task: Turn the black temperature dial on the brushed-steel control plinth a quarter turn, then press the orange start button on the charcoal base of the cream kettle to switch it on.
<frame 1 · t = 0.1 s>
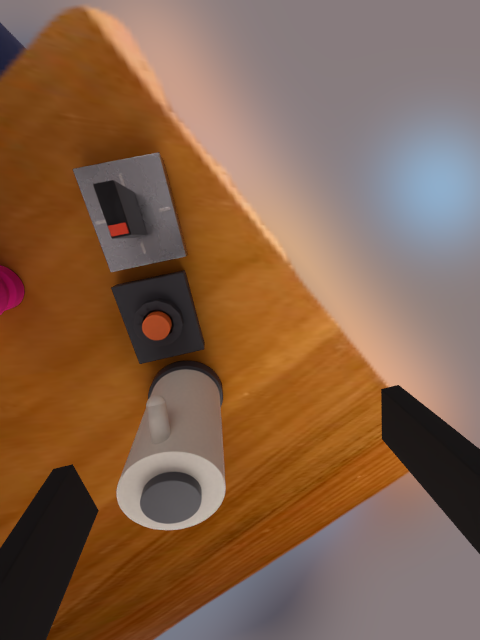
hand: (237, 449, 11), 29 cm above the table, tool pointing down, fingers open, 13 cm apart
pepper mill: (0, 286, 35), on the table
kettle button: (157, 325, 34), point 4 cm above the table, slide at 0.1 cm
kettle base: (163, 315, 38), on the table
dial plinth: (139, 217, 34), on the table
kettle: (187, 391, 43), on the table
temp dial: (123, 213, 28), point 7 cm above the table, hinge at 0.0°
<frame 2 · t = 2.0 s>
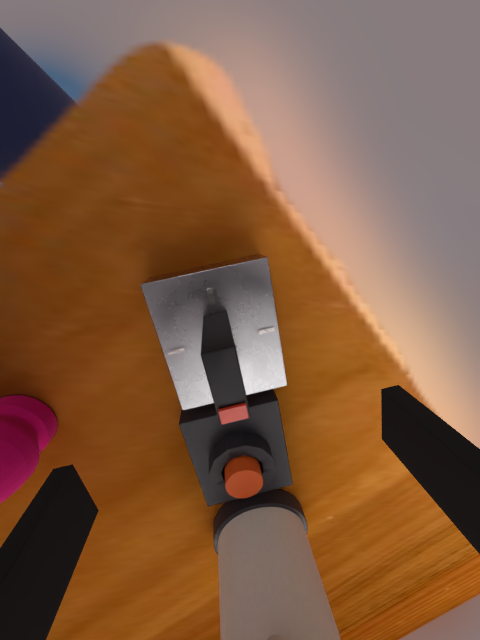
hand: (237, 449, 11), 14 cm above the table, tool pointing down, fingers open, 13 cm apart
pepper mill: (24, 419, 25), on the table
kettle button: (243, 476, 25), point 4 cm above the table, slide at 0.1 cm
kettle base: (238, 441, 29), on the table
dial plinth: (220, 328, 24), on the table
kettle: (258, 520, 34), on the table
temp dial: (224, 360, 18), point 7 cm above the table, hinge at 0.0°
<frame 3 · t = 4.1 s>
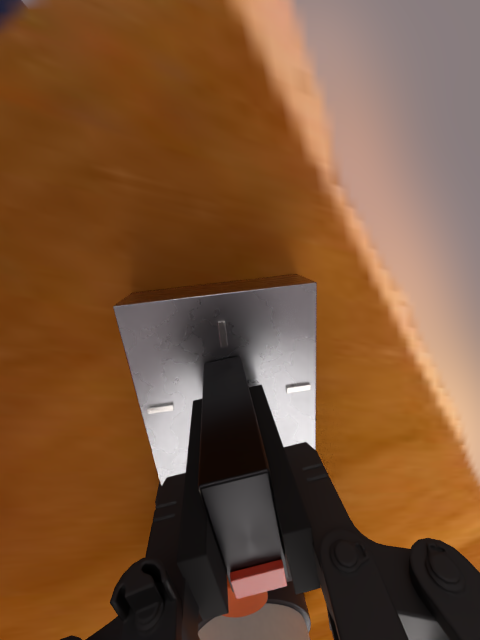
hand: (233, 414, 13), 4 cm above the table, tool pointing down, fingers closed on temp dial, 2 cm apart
kettle button: (239, 584, 17), point 4 cm above the table, slide at 0.1 cm
dial plinth: (227, 370, 17), on the table
kettle: (247, 609, 26), on the table
temp dial: (237, 449, 11), point 7 cm above the table, hinge at 5.1°, touching gripper
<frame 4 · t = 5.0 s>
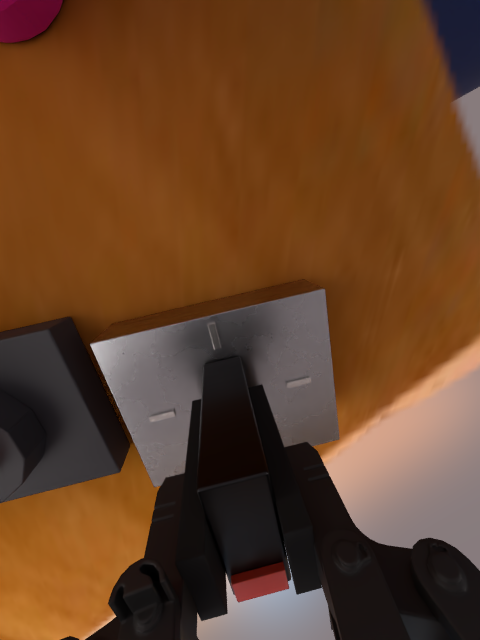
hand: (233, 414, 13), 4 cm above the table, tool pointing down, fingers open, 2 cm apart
kettle base: (10, 409, 16), on the table
dial plinth: (227, 371, 17), on the table
temp dial: (237, 450, 11), point 7 cm above the table, hinge at 89.3°
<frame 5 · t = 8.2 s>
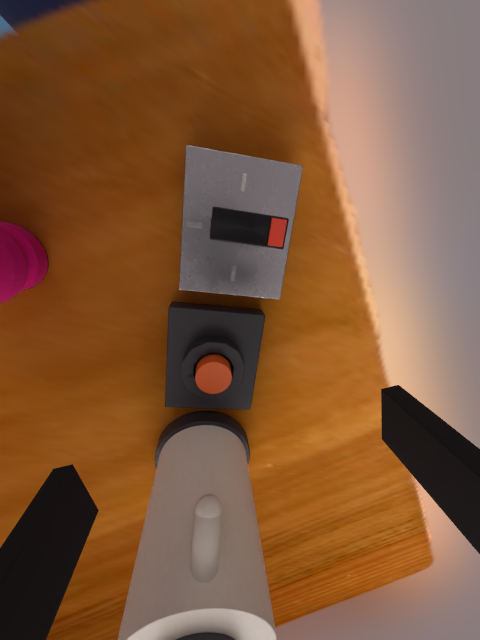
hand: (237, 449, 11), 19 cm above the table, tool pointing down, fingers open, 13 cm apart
pepper mill: (14, 256, 24), on the table
kettle button: (213, 373, 26), point 4 cm above the table, slide at 0.1 cm
kettle base: (213, 354, 30), on the table
dial plinth: (235, 231, 26), on the table
kettle: (203, 447, 34), on the table
temp dial: (243, 229, 20), point 7 cm above the table, hinge at 89.3°
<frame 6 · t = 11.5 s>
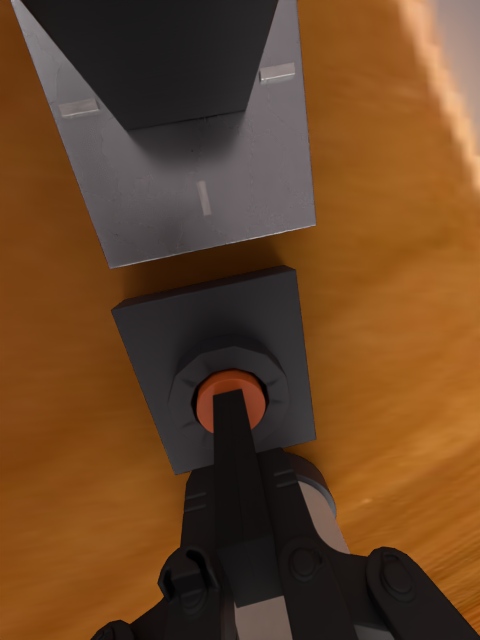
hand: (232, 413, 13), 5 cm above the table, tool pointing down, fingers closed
kettle button: (230, 398, 14), point 4 cm above the table, slide at -0.8 cm, touching gripper
kettle base: (226, 366, 17), on the table
dial plinth: (186, 123, 13), on the table
kettle: (260, 504, 22), on the table
temp dial: (164, 13, 6), point 7 cm above the table, hinge at 89.3°
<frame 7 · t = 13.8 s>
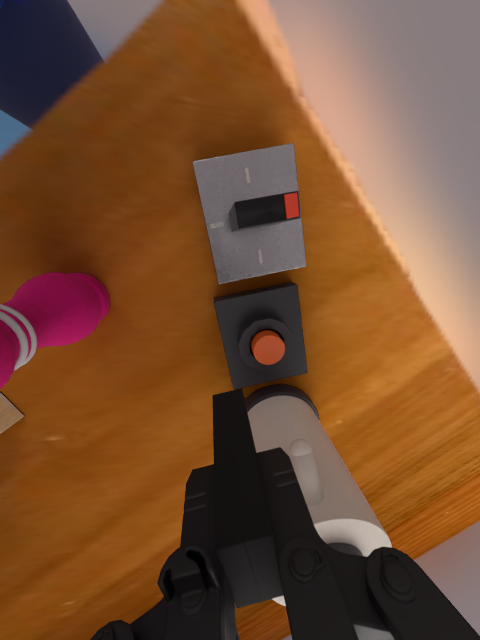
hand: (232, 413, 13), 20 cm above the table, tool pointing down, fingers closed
pepper mill: (83, 298, 30), on the table
kettle button: (267, 347, 29), point 4 cm above the table, slide at 0.1 cm
kettle base: (260, 333, 33), on the table
dial plinth: (249, 220, 29), on the table
kettle: (275, 419, 38), on the table
temp dial: (260, 214, 23), point 7 cm above the table, hinge at 89.3°
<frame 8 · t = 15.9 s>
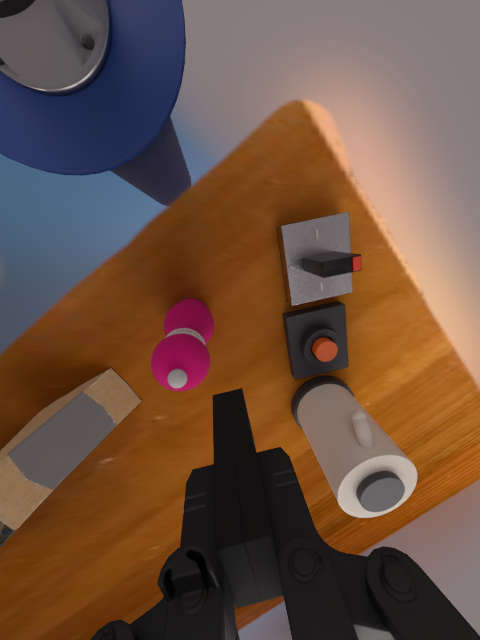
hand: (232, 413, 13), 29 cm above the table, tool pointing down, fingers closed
sandwich container: (92, 405, 45), on the table
pepper mill: (191, 316, 42), on the table
kettle button: (324, 349, 41), point 4 cm above the table, slide at 0.1 cm
kettle base: (313, 338, 45), on the table
dial plinth: (311, 259, 41), on the table
kettle: (320, 402, 50), on the table
temp dial: (330, 263, 34), point 7 cm above the table, hinge at 89.3°
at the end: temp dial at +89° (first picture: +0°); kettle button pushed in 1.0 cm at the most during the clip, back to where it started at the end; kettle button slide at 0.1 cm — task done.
